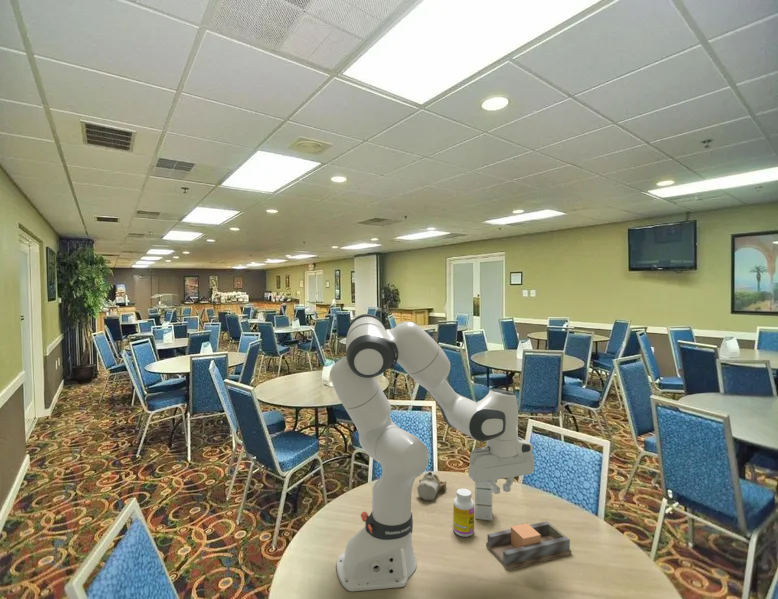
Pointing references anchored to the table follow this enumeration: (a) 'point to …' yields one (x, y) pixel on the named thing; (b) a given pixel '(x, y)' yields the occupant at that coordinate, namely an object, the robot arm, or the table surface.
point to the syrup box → (483, 500)
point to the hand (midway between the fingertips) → (501, 491)
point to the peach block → (524, 535)
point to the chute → (529, 547)
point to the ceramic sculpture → (430, 486)
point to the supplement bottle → (463, 513)
